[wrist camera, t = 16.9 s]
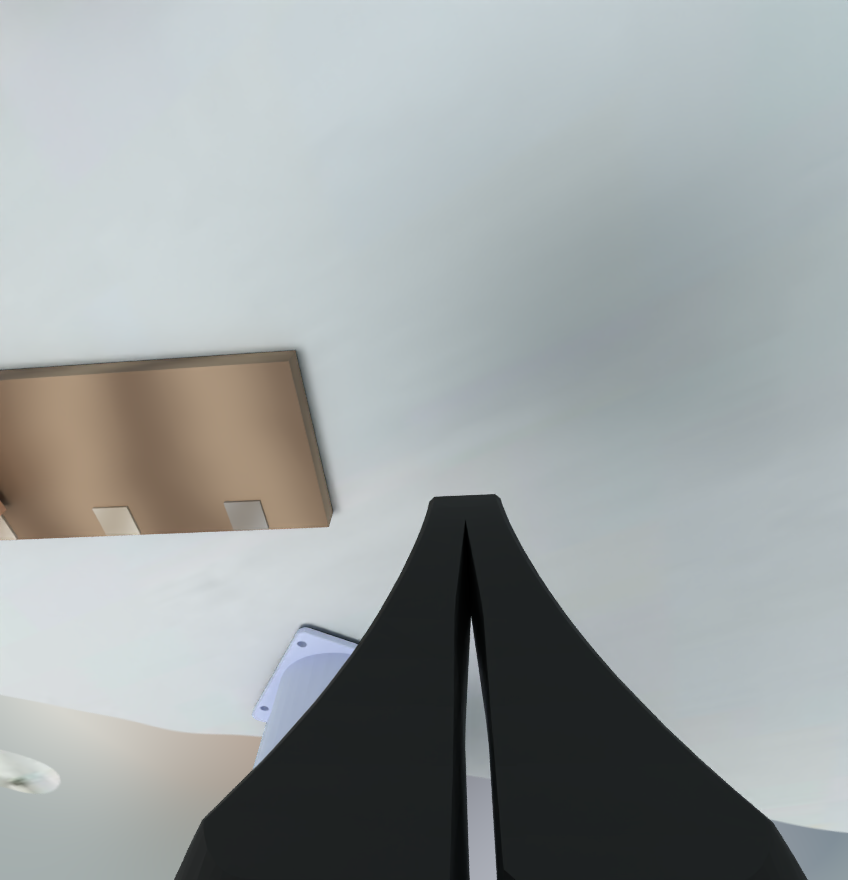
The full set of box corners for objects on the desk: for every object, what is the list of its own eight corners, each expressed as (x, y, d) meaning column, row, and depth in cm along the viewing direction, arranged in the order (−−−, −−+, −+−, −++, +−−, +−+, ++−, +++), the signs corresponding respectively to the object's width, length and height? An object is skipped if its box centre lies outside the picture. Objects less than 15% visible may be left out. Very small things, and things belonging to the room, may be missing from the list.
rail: (295, 350, 20) (287, 362, 19) (332, 512, 24) (328, 528, 24) (-290, 389, 22) (-323, 402, 21) (-161, 533, 26) (-183, 548, 26)
